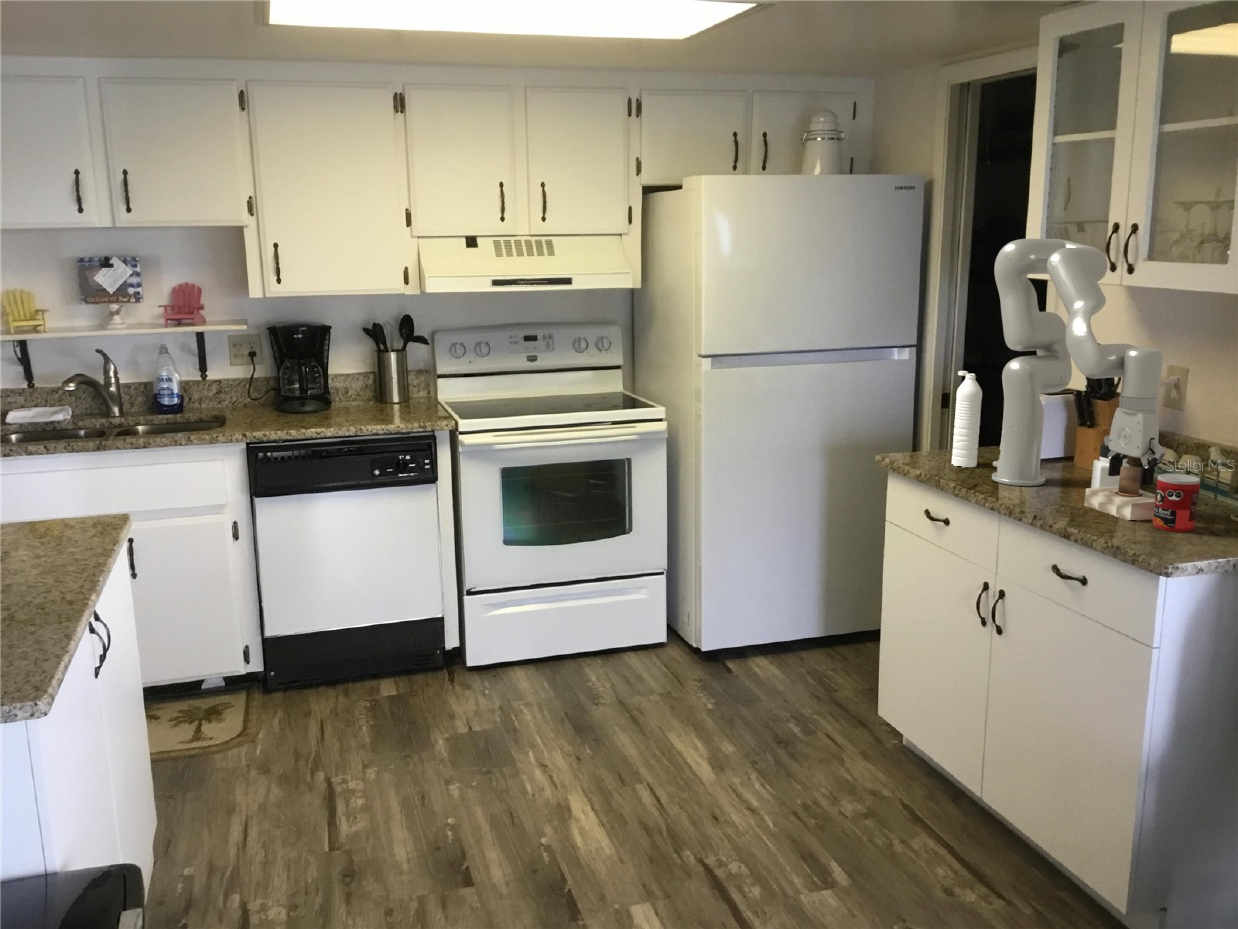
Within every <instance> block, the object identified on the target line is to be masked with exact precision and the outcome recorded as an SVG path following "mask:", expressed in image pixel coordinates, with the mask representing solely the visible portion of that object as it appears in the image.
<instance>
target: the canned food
mask: <svg viewBox="0 0 1238 929" xmlns="http://www.w3.org/2000/svg"><path fill="white" fill-rule="evenodd" d="M1200 487H1201V479H1200V477H1197V476H1194V475H1189V474H1185V473H1183V474H1182V473H1162V474H1159V475H1158V476H1157V480H1156V489H1155V495H1156V496H1155V505H1154V514H1153V519H1152V525H1153V527H1155V528H1156V527H1157V528H1156V529H1158V528H1159V530H1161V529H1162V530H1163V531H1167V532H1172V531H1173V533H1187V532H1188V533H1189V532H1192V531H1193V530H1194V528H1195V525H1196V520H1197V510H1198V504H1199V497H1200V496H1199V494H1200V489H1201V488H1200ZM1162 530H1161V531H1162Z"/></svg>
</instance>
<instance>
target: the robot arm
mask: <svg viewBox="0 0 1238 929" xmlns="http://www.w3.org/2000/svg"><path fill="white" fill-rule="evenodd" d="M1108 265H1109V263H1108V259H1107V257H1106V255H1105V254H1104V253H1103V252H1102V251H1101V250H1100V249H1098V248H1097V247H1094V246H1089V245H1086V244H1082V243H1077V242H1074V241H1070V240H1066V239H1061V238H1021V239H1016V240H1012V241H1010V242H1007V244H1005V245H1004V246H1003V247H1002V248H1001V249H1000V250H999V252H998V254H997V256H996V258H995V262H994V269H993V270H994V271H993V272H994V279H995V283H996V286H997V290H998V295H999V300H1000V312H1001V313H1000V314H1001V321H1002V330H1003V337H1004V338H1003V339H1004V341H1005V345H1006V346H1007V347H1008V348H1009V349H1010V350H1012V351H1015V352H1016V351H1017V352H1028V351H1036V355H1025V356H1019V357H1015V358H1013V359H1011V360H1010V361H1008V362H1007V363H1006V365H1005V366H1004V367H1003V370H1002V374H1001V380H1002V389H1003V398H1004V399H1003V416H1002V417H1003V418H1002V427H1001V428H1002V430H1001V442H1000V453H999V459H997V460H994V461H993V462H992V466H994V467H995V468H997V469H996V471H995V472H993V473H992V474H991V479H992V480H993V482H994V481H995V482H996V483H1001V484H1004V485H1009V486H1019V487H1020V486H1021V487H1036V486H1041V485H1044V484H1045V483H1046V478H1045V477H1044V476H1043V475H1040V466H1041V454H1042V444H1043V436H1044V435H1043V434H1044V433H1043V432H1044V422H1045V409H1044V408H1045V407H1044V404H1043V402H1042V399H1041V396H1040V395H1041V394H1051V393H1059V392H1061V391H1064V390H1065V389H1066V388H1067V387H1068V386H1069V384H1070V382H1071V380H1072V374H1073V367H1072V366H1073V365H1072V361H1073V363H1074V366H1075V367H1076V368H1077V370H1078V371H1079V372H1080V373H1081V374H1082V375H1083V376H1084V377H1086V378H1089V379H1107V378H1122V379H1121V385H1120V386H1121V387H1120V396H1119V398H1118V401H1119V406H1118V407H1116V409H1115V412H1114V415H1113V418H1112V422H1111V427H1110V432H1109V434H1108V435H1106V436H1104V437H1103V442H1104V443H1105V445H1106V450H1107V452H1108V458H1110V461H1109V471H1108V476H1120V470H1121V467H1122V465H1123V458H1120V457H1121V456H1122V455H1127V456H1128V457H1131V458H1135V459H1136V458H1137V459H1138V458H1139V459H1140V461H1141V464H1142V465H1143V467H1140V468H1141V473H1140V482H1139V484H1140V487H1141V486H1142V487H1143V486H1144V487H1145V486H1153V484H1154V479H1155V472H1156V468H1158V467H1159V465H1160V464H1161V463H1162V461H1163V459H1164V458H1165V456H1166V454H1167V451H1166V450H1165V449H1164V448H1163V446H1162V445H1161V444H1160V443H1159V434H1160V425H1159V424H1160V422H1159V420H1160V419H1159V413H1158V404H1159V394H1160V388H1161V387H1160V386H1161V378H1162V370H1163V368H1162V367H1163V361H1164V354H1163V352H1162V351H1161V350H1160V349H1158V348H1153V347H1139V346H1136V345H1132V344H1128V343H1106V344H1105V343H1104V344H1103V343H1102V344H1099V342H1098V341H1097V339H1096V336H1095V335H1094V333H1093V330H1092V327H1091V319H1092V317H1093V316H1095V315H1096V314H1097V313H1099V312H1100V311H1101V310H1103V308H1104V307H1105V305H1106V304H1107V303H1106V302H1107V299H1106V296H1105V294H1104V292H1103V290H1102V288H1101V286H1100V285H1099V283H1098V282H1100V281H1101V280H1103V278H1105V276H1106V274H1107V272H1108V268H1109V267H1108ZM1028 275H1049V278H1050V280H1051V282H1052V285H1053V287H1054V288H1055V290H1056V292H1057V294H1058V296H1059V298H1060V300H1061V302H1062V305H1063V306H1064V308H1065V310H1066V312H1067V316H1068V319H1067V321H1066V322H1065V320H1064V319H1063V317H1061V316H1060V315H1059V314H1057V313H1055V312H1051V311H1040V310H1039V304H1038V297H1037V292H1036V290H1035V287H1034V285H1033V284H1032V282H1031V281H1030V280H1029V279H1028ZM1148 460H1149V461H1148Z"/></svg>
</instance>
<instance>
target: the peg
mask: <svg viewBox="0 0 1238 929" xmlns="http://www.w3.org/2000/svg"><path fill="white" fill-rule="evenodd" d="M1141 468H1142V467H1138V466H1132V465H1130V466H1122V467H1121V470H1120V479H1119V488H1118V491H1117V494H1119V495H1120V496H1126V497H1138V496H1139V495H1140V493H1139V490H1140V488H1141V485H1140V484H1139V482H1140V473H1141Z"/></svg>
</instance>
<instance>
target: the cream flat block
mask: <svg viewBox="0 0 1238 929" xmlns="http://www.w3.org/2000/svg"><path fill="white" fill-rule="evenodd" d="M1118 488H1119V486H1112V487H1100V488H1091V487H1089V488H1085V496H1084V497H1085V498H1084V506H1085V507H1087V508H1091V509H1094V510H1097V511H1100V512H1101V513H1105V514H1108V513H1109V514H1108V515H1111V516H1113V515H1114V516H1113V517H1117V518H1119V517H1120V519H1122V518H1123V520H1125V521H1128V520H1137V521H1145V520H1146V521H1147V520H1153V514H1154V505H1155V496H1156V493H1155V494H1154V493H1151V492H1149V491H1145V490H1142V489H1139V493H1140V495H1139V496H1138V497H1126V496H1120V495H1119V494H1117V491H1118Z"/></svg>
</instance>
